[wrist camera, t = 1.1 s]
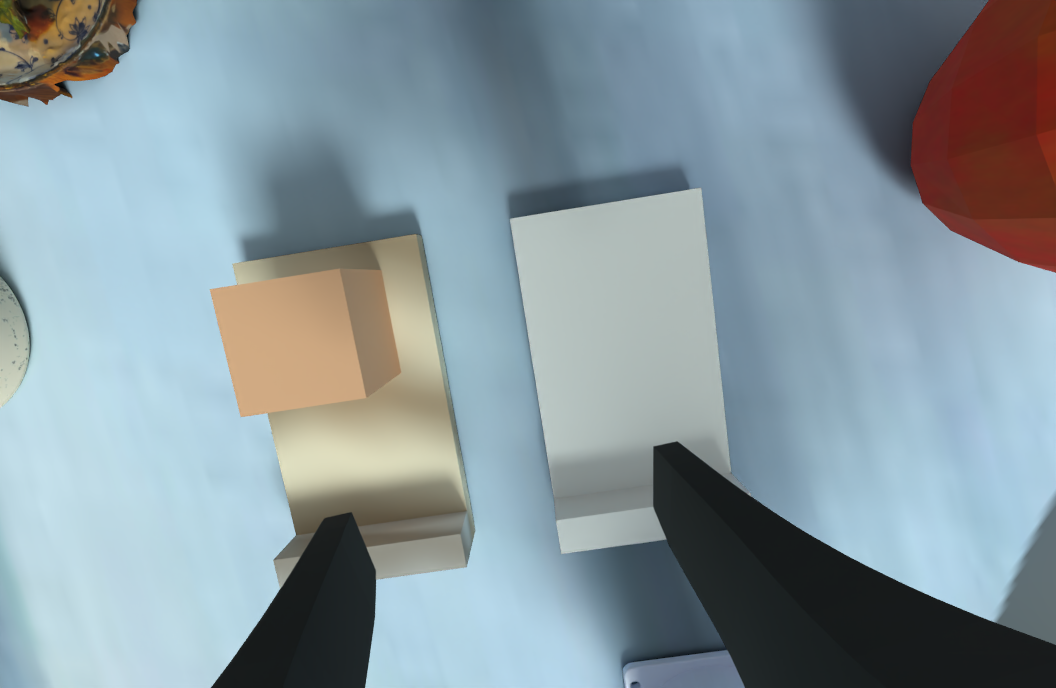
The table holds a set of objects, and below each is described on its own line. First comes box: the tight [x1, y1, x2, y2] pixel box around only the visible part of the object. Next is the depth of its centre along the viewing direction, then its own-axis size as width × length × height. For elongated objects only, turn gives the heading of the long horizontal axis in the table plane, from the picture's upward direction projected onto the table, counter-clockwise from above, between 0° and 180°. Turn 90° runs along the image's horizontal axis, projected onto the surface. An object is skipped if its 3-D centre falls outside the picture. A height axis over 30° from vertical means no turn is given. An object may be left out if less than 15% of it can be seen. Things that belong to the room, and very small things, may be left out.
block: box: [210, 269, 401, 417], centre depth 19 cm, size 4×4×4 cm
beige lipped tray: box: [233, 234, 475, 589], centre depth 21 cm, size 14×8×3 cm, turn 9°
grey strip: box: [510, 188, 751, 554], centre depth 21 cm, size 14×8×3 cm, turn 9°
